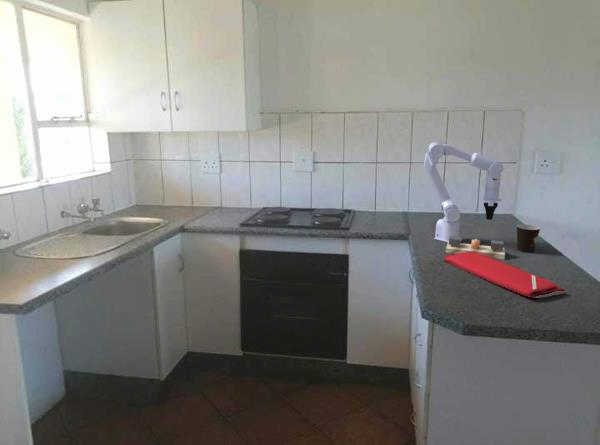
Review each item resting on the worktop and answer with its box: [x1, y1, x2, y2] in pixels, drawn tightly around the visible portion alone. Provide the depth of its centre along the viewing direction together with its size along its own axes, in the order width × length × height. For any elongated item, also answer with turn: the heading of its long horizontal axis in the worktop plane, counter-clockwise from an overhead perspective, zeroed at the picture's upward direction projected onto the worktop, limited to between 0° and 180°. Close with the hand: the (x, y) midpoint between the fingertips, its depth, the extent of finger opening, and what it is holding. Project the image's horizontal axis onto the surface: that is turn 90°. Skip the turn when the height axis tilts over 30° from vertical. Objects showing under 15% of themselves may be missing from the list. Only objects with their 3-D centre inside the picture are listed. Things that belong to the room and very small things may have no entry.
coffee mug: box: [516, 224, 541, 254], centre depth 193 cm, size 12×9×10 cm
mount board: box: [445, 242, 506, 260], centre depth 190 cm, size 22×10×3 cm, turn 68°
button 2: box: [490, 239, 504, 250], centre depth 186 cm, size 4×4×2 cm
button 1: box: [449, 236, 462, 246], centre depth 192 cm, size 4×4×2 cm
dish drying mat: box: [443, 252, 566, 299], centre depth 164 cm, size 16×41×4 cm, turn 21°
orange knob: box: [470, 238, 481, 249], centre depth 189 cm, size 3×3×3 cm
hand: (489, 219), depth 202 cm, fingers closed
